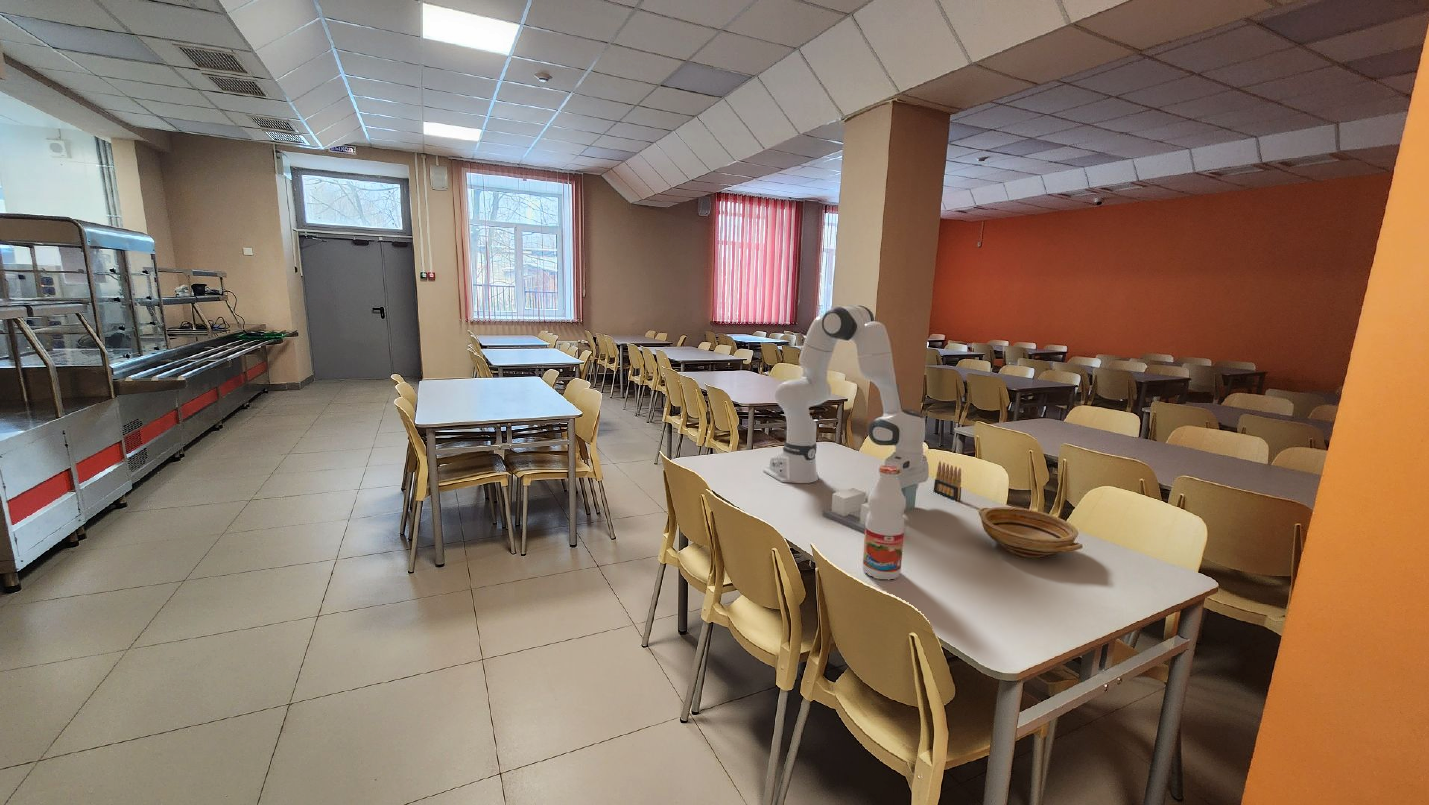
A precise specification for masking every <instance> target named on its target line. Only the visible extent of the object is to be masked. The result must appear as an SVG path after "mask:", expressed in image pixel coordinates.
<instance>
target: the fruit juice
mask: <svg viewBox="0 0 1429 805" xmlns="http://www.w3.org/2000/svg"><path fill="white" fill-rule="evenodd" d="M878 473H879V476H878V478H877V481H876V483H875V485H874V486H873V489H872V490H871V491H870V492H869V494H868V496H867V497H868V498H867V503H868V506H869V512H868V514H867V517H866V524H865V533H864V539H863V542H864V543H863V553H862V554H863V555H862V571H863V570H864V571H863V572H864V574H866V573H867V574H868V575H870V576H873V577H876V578H878V579H877V580H879V579H888V580H887V581H891V580H890V579H894V580H896V579H898V578H899V577H900V575H901V573H902V572H901V571H902V561H903V547H904V537H905V526H906V525H905V524H906V523H905V517H904V512H905V511H906V510H905V507H906V499H905V497H904V495H903V493H902V490H901V486H900V483H899V479H898V475H899V473H900V469H899V467H897V466H893V465H885V464H882V465H879V467H878ZM904 510H905V511H904ZM867 574H866V575H867ZM868 575H867V576H868ZM870 576H869V577H870Z"/></svg>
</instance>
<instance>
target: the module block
mask: <svg viewBox="0 0 1429 805" xmlns="http://www.w3.org/2000/svg"><path fill="white" fill-rule="evenodd" d="M916 488H917V484H915V485H912V486H909V487H905V488H902V489H901V490H902V493H903V495H904V497H905V499H906V507H905V511H908V510H911V509H913V507H914V508H915V507H916V499H917V498H916V496H917V490H916ZM917 489H918V488H917ZM907 509H908V510H907Z"/></svg>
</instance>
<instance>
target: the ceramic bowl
mask: <svg viewBox="0 0 1429 805" xmlns="http://www.w3.org/2000/svg"><path fill="white" fill-rule="evenodd" d="M978 515H979V517H980V519H981V526H982V528H983V530H984V532H985V533H986V534H987V536H989V538H991V539H992V540H993V541H995V542H996V543H998V544H1000V545H1002V547H1003V548H1004V549H1005V550H1006V551H1008V552H1010V553H1013V554H1016V555H1019V556H1023V557H1027V558H1043V557H1045V556H1047V555H1053V554H1054V555H1055V554H1059V553H1062V552H1074V551H1078V550H1081V549H1082V548H1083V543H1081V542H1075V540H1076V538H1078V536H1079V531H1078V529H1077V528H1076V527H1075V526H1074V525H1073V524H1071V523H1070V522H1068V521H1066V520H1065V519H1062V518H1060V517H1057V516H1056V515H1053V514H1049V513H1046V512H1042V511H1039V510H1034V509H1028V508H1025V507H1024V508H1023V507H1013V506H1012V507H1011V506H998V507H997V506H996V507H982V508H980V509H979V510H978Z"/></svg>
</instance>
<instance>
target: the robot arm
mask: <svg viewBox="0 0 1429 805" xmlns="http://www.w3.org/2000/svg"><path fill="white" fill-rule="evenodd" d="M838 340H841V341H842V340H843V341H850V340H852V341H853V342H854V344H855V345H856V346H855V347H856V351H857V352H856V354H857V360H858V365H859V370H860V373H861V375H862V376H863V377H864V378H865V379H866V380H867V381H869V382H871V383H872V384H874V385H875V386H876V388H877V389H878V391H879V394H880V399H881V400H880V401H881V404H882V410H883V413H882V416H879V417H877V418H875V419H874V420H872V421H871V422H870V423H869V425H868V426H867V435H868V437H869V439H870V440H871V442H872V443H873V444H876V445H877V446H894V447H895V450H894V452H893V453H892V454H891V455H889V456H888V457H887V458H885V460H884V465H893V466H897V467H899V469H900V473H899V475H898V479H899V483H900V486H901V489H902V488H905V487H909V486H912V485H915V484H917V488H916V491H917V490H918V488H919V485H920V484H921V483H926V482H928V479H929V476H930V475H929V470H930V468H929V462H928V457H927V456H926V454H924V441H925V438H926V420H925V416H924V414H923V413H920V412H919V411H917V410H915V409H908V408H903V405H902V401H901V395H900V391H899V386H898V385H899V384H898V381H897V377H896V374H895V372H896V371H895V369H894V367H895V366H894V361H893V360H894V359H893V353H892V347H891V346H892V345H891V341H890V337H889V335H888V331H887V329H886V326H885V324H883V323H881V322H880V321H875V316H874V313H873V311H871V309H870V308H868V307H867V306H864V305H853V304H852V305H851V304H850V305H844V306H835V307H833V308H830V309H829V310H827V311H826V312H825V313H824V315H818V316H817V317H815V318H814V320H812V323H811V324H810V326H809V328H808V331H807V333H806V336H805V338H804V342H803V344H802V348H801V350H800V354H799V358H798V364H799V365H800V367H801V368H802V375H801V377H800V378H794V379H787V380H786V381H784V382H782V383H779V384H778V385H777V387H776V388H775V391H774V398H775V401H776V403H777V404H778V406H779V407H780V408H781V409H782V411H783V412H784V416H785V419H786V440H785V441H782V442H781V446H783V447H782V450H780V451H778V452H777V453H775V454H773V455H772V456H771V458H770V460H769V466H766V467H764V468H763V471H762V472H764V473H765V474H767V475H768V476H770V477H772V478H774V479H776V480H777V481H779V482H781V483H794V484H809V483H814V482H816V481H818V480H819V477H818V471H817V470H818V469H817V459H816V454H817V449H818V448H817V442H816V440H817V423H816V421H815V420H814V419H813V418H812V417H811V415H810V407H814V406H819V405H821V404H823V403H825V402H827V401H828V400H829V399H830V397H831V394H832V387H831V384H830V383H829V381H828V370H829V366H830V363H831V359H832V358H833V357H832V356H833V353H834V350H835V346H836V344H837V341H838Z"/></svg>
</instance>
